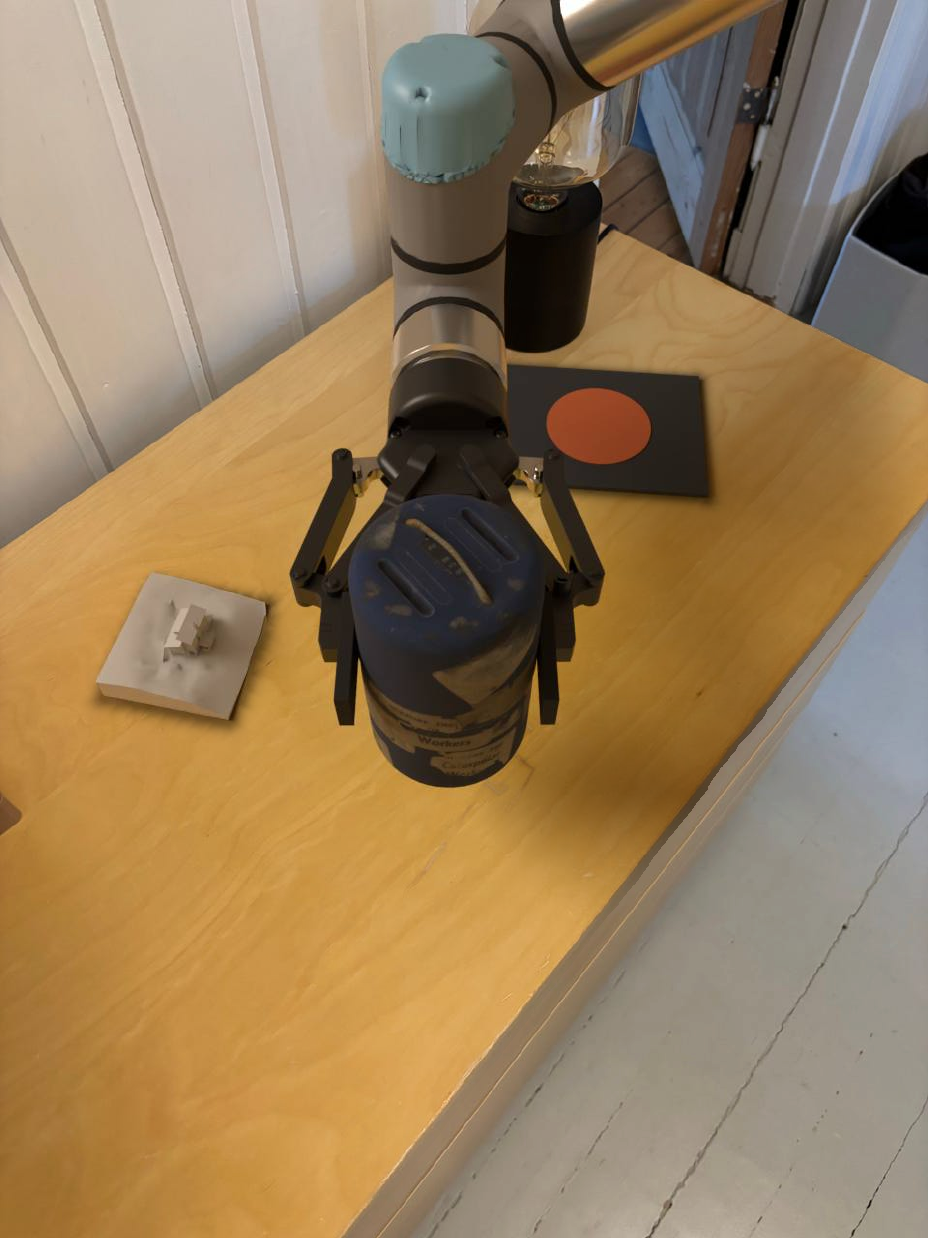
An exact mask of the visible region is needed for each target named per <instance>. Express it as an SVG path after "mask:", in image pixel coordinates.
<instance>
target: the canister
mask: <svg viewBox="0 0 928 1238" xmlns="http://www.w3.org/2000/svg"><path fill="white" fill-rule="evenodd" d="M545 582H546V572H545V565H544V560H543V557H542V553H541V551H540V548H539V546H538V544H537V542H536V540H535V538H534V537H533V535H532V534H531V533H530V531H529V530H528V529H527V528H526V527H525V526H524V525H523V524H522V523H521V522H520V521H519V520H518V519H517V518H516V517H514V516H513V515H512V514H510V513H509V512H507V511H506V510H504V509H503V508H501V507H499V506H497V505H496V504H493V503H491V502H488V501H484V500H480V499H477V498H474V497H470V496H465V495H456V494H437V495H430V496H425V497H421V498H416V499H413V500H410V501H407V502H404V503H402V504H400V505H398V506H396V507H394V508H392V509H390V510H388V511H387V512H385V513H384V514H383V515H381V516H380V517H379V518H377V519H376V520H375V521H374V522H373V523H372V524H371V525H370V526H369V527H368V528H367V529H366V531H365V532H364V533H363V535H362V536H361V538H360V539H359V541H358V543H357V544H356V546H355V549H354V551H353V554H352V557H351V561H350V566H349V573H348V585H349V594H350V600H351V605H352V611H353V617H354V623H355V629H356V635H357V640H358V643H357V649H358V658H359V659H358V661H359V663H360V664H359V665H360V672H361V679H362V684H363V690H364V694H365V700H366V704H367V705H366V706H367V708H368V714H369V719H370V724H371V729H372V734H373V737H374V740H375V742H376V745H377V747H378V749H379V751H380V753H381V754H382V755H383V757H384V758H385V759H386V761H387V762H388V763H389V764H390V765H391V767H393V768H394V769H396V770H397V771H398V772H399V773H401V774H402V775H404V776H405V777H407V778H408V779H411V780H413V781H415V782H417V783H419V784H422V785H426V786H429V787H434V788H444V789H457V788H464V787H468V786H472V785H476V784H478V783H479V784H480V783H482V782H483V781H486V780H488V779H489V778H491V777H493V776H495V775H496V774H497V773H499V772H500V771H501V770H503V769H504V768H505V767H506V766H507V765H508V764H509V762H510V761H511V760H512V759H513V758H514V756H516V754H517V752H518V750H519V748H520V747H521V744H522V742H523V740H524V737H525V735H526V734H525V733H526V730H527V727H528V726H527V724H528V718H529V710H530V702H531V696H532V689H533V680H534V674H535V672H536V669H537V651H538V643H539V636H540V626H541V618H542V609H543V603H544V594H545Z"/></svg>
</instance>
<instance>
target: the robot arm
mask: <svg viewBox="0 0 928 1238" xmlns="http://www.w3.org/2000/svg"><path fill="white" fill-rule="evenodd" d="M783 1H784V0H501V1H500V2H499V3H498V6H497V7H496V9H494V11H493V13H492V14H491V15H490V16H489V17H488V18H487V19H486V20H485V22H484V23H482V25H481V26H480V27H479V28H478V29H477V30H476V32H474V33H473V34H472V35H469V34H462V33H436V34H430V35H425V36H423V37H421V39H420V41H418V42H408V43H405V44H402V46H400V47H399V48H398V49H396V50H395V52H393V53H392V54H391V56H390V57H389V58H388V60H387V62H386V64H385V66H384V67H383V72H382V77H381V116H380V121H381V122H380V123H381V125H380V127H379V133H380V137H381V138H380V142H381V146H382V152H383V163H384V175H385V176H384V177H385V187H386V200H387V209H388V223H389V232H390V254H391V267H392V268H391V269H392V280H393V335H392V344H391V349H390V351H391V352H390V353H391V354H390V372H389V373H390V374H389V397H388V409H387V426H386V427H387V428H386V429H387V430H386V442H385V444H384V446H383V447H382V448H381V450H380V451H378V453H377V455H376V456H363V457H361V456H360V457H353V453H352V451H351V450H350V449H348V448H345V447H340V448H337V449H335V450H334V451H333V452H332V453H331V479H330V481H329V482H328V485H327V488H326V489H325V492H324V494H323V496H322V500H321V501H320V503H319V505H318V508H317V510H316V512H315V514H314V516H313V519H312V521H311V523H310V526H309V527H308V530H307V532H306V534H305V535H304V536H305V537H303V538H304V539H303V541H302V543H301V545H300V548H299V550H298V552H297V554H296V557H295V558H294V561H293V563H292V566H291V567H290V570H289V574H288V575H289V578H290V579H289V580H290V583H291V588H292V591H293V595H294V597H295V601H296V604H297V605H298V606H300V607H302V608H309V607H312V606H314V607H316V608H318V609H320V613H319V625H318V634H317V643H318V647H319V651H320V656H321V657H322V660H323V663H336V664H335V665H336V666H335V675H334V676H335V677H334V678H335V679H334V688H333V689H334V690H333V705H334V708H335V713H336V718H337V721H338V725H339V726H340V727H341V726H342V727H346V726H347V727H348V726H350V727H352V726H355V719H356V718H355V717H356V704H357V703H356V702H357V690H358V689H357V688H358V687H357V686H358V673H359V658H358V649H357V643H358V640H357V635H356V629H355V623H354V617H353V611H352V605H351V600H350V594H349V585H348V573H349V566H350V561H351V557H352V554H353V551H354V549H355V546H356V544H357V543H358V541H359V539H360V538H361V536H362V535H363V533H364V532H365V531H366V529H367V528H368V527H369V526H370V525H371V524H372V523H373V522H374V521H375V520H376V519H377V518H379V517H380V516H381V515H383V514H384V513H385V512H387V511H388V510H390V509H392V508H394V507H396V506H398V505H400V504H402V503H404V502H407V501H410V500H413V499H416V498H421V497H425V496H430V495H437V494H456V495H465V496H470V497H474V498H477V499H480V500H484V501H488V502H491V503H493V504H496V505H497V506H499V507H501V508H503V509H504V510H506V511H507V512H509V513H510V514H512V515H513V516H514V517H516V518H517V519H518V520H519V521H520V522H521V523H522V524H523V525H524V526H525V527H526V528H527V529H528V530H529V531H530V533H531V534H532V535H533V537H534V538H535V540H536V542H537V544H538V546H539V548H540V551H541V553H542V557H543V560H544V565H545V572H546V582H545V594H544V603H543V609H542V618H541V626H540V636H539V643H538V651H537V660H536V672H537V689H538V705H539V707H538V710H539V724H540V725H541V726H548V725H549V726H555V725H556V722H557V716H558V711H559V705H560V688H559V687H560V686H559V674H558V663H571V661H572V659H573V656H574V652H575V647H576V643H577V634H576V623H575V622H576V621H575V611H574V609H576V608H577V607H581V606H585V607H594V606H596V605H598V603H599V602H600V599H601V594H602V590H603V585H604V580H605V576H606V570H605V567H603V563H602V562H601V559H600V556H599V555H598V552H597V550H596V548H595V545H594V542H593V541H592V538H591V536H590V534H589V532H588V530H587V527H586V525H585V523H584V520H583V518H582V517H581V514H580V512H579V508H578V507H577V505H576V502H575V500H574V498H573V496H572V493H571V490H570V488H568V486H567V484H566V482H565V480H564V453H563V452H562V451H561V450H560V449H557V448H550V449H547V450H546V451H545V452H544V457H543V458H536V457H520V456H519V455H518V453H517V451H516V450H515V449H514V448H513V446H512V445H511V443H510V432H509V410H508V396H507V386H508V383H507V364H508V363H507V349H506V338H505V273H506V252H507V251H506V250H507V235H508V234H507V233H508V215H509V213H508V211H509V197H510V196H509V195H510V194H509V193H510V189H511V185H512V182H513V180H514V178H515V177H516V176H517V174H518V173H519V172H520V171H521V170H522V168H523V167H524V166H525V164H526V163H527V162H528V160H529V159H530V158H531V156H532V155H533V154H534V153H535V151H536V150H537V148H538V147H539V146H540V145H541V144H542V143H543V141H545V139H546V138H547V137H548V135H549V134H550V133H551V132H552V130H553V129H554V128H555V126H556V125H557V124H558V123H559V121H560V120H561V119H562V118H563V117H564V116H565V115H567V114H568V113H569V112H571V111H573V110H574V109H576V108H579V107H580V106H582V105H585V104H586V103H588V102H590V101H591V100H594V99H595V98H598V97H600V96H601V95H603V94H605V93H607V92H609V91H611V90H612V89H614V88H616V87H617V86H619V85H620V84H622V83H624V82H626V81H629V80H631V79H632V78H635V77H636V76H638V75H640V74H642V73H644V72H647V71H649V70H651V69H652V68H654V67H656V66H659V65H660V64H662V63H664V62H665V61H667V60H669V59H672V58H674V57H676V56H677V55H680V54H682V53H683V52H686V51H687V50H689V49H692V48H694V47H695V46H697V45H699V44H701V43H703V42H705V41H706V40H709V39H711V38H713V37H714V36H716V35H719V34H720V33H723V32H725V31H727V30H728V29H730V28H732V27H735V26H736V25H738V24H740V23H742V22H744V21H745V20H748V19H750V18H752V17H753V16H755V15H758V14H760V13H761V12H764V11H765V10H767V9H768V10H769V9H770V8H771V7H773V6H776V5H777V4H779V3H781V2H783ZM517 479H521V480H523V481H525V482H526V483H527V485H526V486H527V489H528V490H529V491H530V492H531V495H532V497H534V498H539V502H540V509H541V512H542V515H543V518H544V519H545V522H546V524H547V527H548V529H549V531H550V534H551V536H552V539H553V542H554V544H555V546H556V548H557V551H558V554H559V556H560V558H561V561H562V564H563V565H564V567H563V565H562V564H561V562H560V561H559V560H558V559H557V558H556V555H554V554H553V552H552V551H551V550H550V548H549V546H547V544H546V543H545V542H544V540H543V539H542V538H541V536H540V535H539V533H538V532H537V531H536V530H535V529H534V527H533V526H532V525H531V524H530V522H529V521H528V520H527V518H526V517H525V516H524V514H523V513H522V511H521V510H520V509H519V508H518V506H517V505H516V503H514V500H513V498H512V494H511V492H510V488H512V486H513V484H514V482H515V481H516V480H517ZM375 480H380V482H381V483H382V484H383V486H384V487H385V488H386V491H385V492H384V496H383V500H382V502H381V503H380V504H379V506H378V507H377V509H376V510H375V511H374V512H373V513H372V515H371V516H370V517H369V519H368V520H367V522H365V524H364V525H363V527H362V528H361V529H360V530H359V532H358V533H357V534H356V536H355V537H354V538H353V540H352V541H351V542H350V543H349V545H348V546H347V547H346V548H345V550H344V551H343V552H342V554H341V555H340V557H339V558H338V559H337V561H336V562H335V559H336V557H337V554H338V552H339V549H340V547H341V545H342V543H343V540H344V538H345V535H346V532H347V530H348V528H349V526H350V523H351V521H352V518H353V516H354V513H355V511H356V507H357V498H358V499H361V498H363V497H365V494H366V493H365V492H367V491H368V490H369V487H370V485H371V483H372V482H373V481H375ZM334 562H335V563H334Z"/></svg>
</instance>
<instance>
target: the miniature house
mask: <svg viewBox="0 0 928 1238" xmlns="http://www.w3.org/2000/svg"><path fill="white" fill-rule="evenodd" d="M266 615H267V608H266V602H265V601H262V600H259V599H256V598H253V597H249V596H246V595H243V594H240V593H237V592H234V591H229V590H224V589H221V588H218V587H215V586H211V585H208V584H204V583H200V582H197V581H193V580H190V579H186V578H181V577H178V576H173V575H167V574H162V573H157V572H151V571H150V574H149V576H148V578H147V579H146V581H145V582H144V583H143V586H142V588H141V590H140V591H139V593H138V596H137V598H136V599H135V602H134V603H133V605H132V608H131V610H130V612H129V614H128V616H127V618H126V619H125V622H124V624H123V626H122V628H121V630H120V631H119V634H118V636H117V638H116V640H115V642H114V645H113V646H112V649H111V650H110V652H109V654H108V656H107V658H106V660H105V662H104V664H103V667H102V668H101V670H100V672H99V673H98V675H97V678H96V679H95V681H94V683H95V685H96V687H98V689H99V690H100V692H101V693H102V695H103V696H105V697H109V698H114V699H120V700H125V701H129V702H135V703H140V704H144V705H151V706H155V707H161V708H164V709H165V708H167V709H169V710H170V709H171V710H175V711H179V712H187V713H191V714H196V715H200V716H206V717H211V718H216V719H222V720H227V721H229V720H230V717H231V714H232V712H233V710H234V707H235V704H236V701H237V699H238V696H239V694H240V692H241V689H242V686H243V683H244V681H245V678H246V675H247V673H248V670H249V667H250V663H251V661H252V657H253V654H254V651H255V648H256V647H257V644H258V641H259V638H260V635H261V632H262V629H263V625H264V621H265V617H266ZM266 621H267V618H266Z"/></svg>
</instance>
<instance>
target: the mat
mask: <svg viewBox="0 0 928 1238" xmlns="http://www.w3.org/2000/svg"><path fill="white" fill-rule="evenodd" d="M507 383H508V386H507V396H508V410H509V432H510V443H511V445H512V446H513V448H514V449H515V450H516V451H517V453H518V455H519V456H520V457H536V458H543V457H544V452H545V451H546V450H547V449H550V448H557V449H560V450H561V451H562V452H563V453H564V480H565V482H566V484H567V486H568V489H573V490H574V489H576V490H587V491H589V490H590V491H605V492H617V493H619V492H621V493H633V494H634V493H635V494H649V495H661V496H662V495H663V496H665V495H666V496H676V497H677V496H679V497H691V498H693V497H695V498H708V496H709V491H708V480H707V479H708V478H707V465H706V464H707V463H706V453H705V440H704V439H705V438H704V427H703V426H704V425H703V415H702V413H703V412H702V401H701V389H700V387H701V386H700V376H699V375H686V374H669V373H668V374H667V373H653V372H637V371H622V370H621V371H620V370H606V369H588V368H576V367H575V368H574V367H559V366H558V367H555V366H541V365H538V366H537V365H527V364H526V365H524V364H511V363H509V364H508V363H507ZM513 485H515V486H527V483H526V482H525V481H523V480H521V479H517V480H516V481H515V482H514V484H513ZM513 485H512V486H513Z"/></svg>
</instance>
